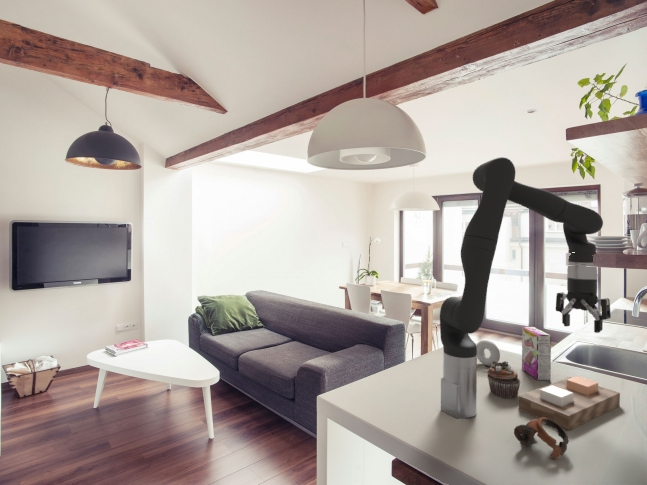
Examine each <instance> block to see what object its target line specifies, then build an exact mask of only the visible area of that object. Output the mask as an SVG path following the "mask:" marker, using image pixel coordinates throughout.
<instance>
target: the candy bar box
mask: <svg viewBox="0 0 647 485" xmlns="http://www.w3.org/2000/svg"><path fill="white" fill-rule="evenodd" d="M551 339H552V335H551V334H549V333H548V332H545V331H543V330H541V329H539V328H538V327H536V326H522V327H521V369H522V370H523V371H525V372H526V373H527V374H528V375H530V376H531V377H532V378H534V379H535V380H537V381H541V382H542V381H551V372H552V371H551V370H552V369H551V360H552V359H551V357H552V355H551V354H552V352H551V351H552V349H551V348H552V345H551V344H552V340H551Z"/></svg>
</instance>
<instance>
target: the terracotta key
mask: <svg viewBox="0 0 647 485" xmlns="http://www.w3.org/2000/svg"><path fill="white" fill-rule="evenodd" d="M598 386H599V382H597V381H593V380H591V379H588V378H584V377H581V376H578V375H576V376H574V377H573V376H572V378H570V379H568V380H567V384H566V388H567V389H570V390H573V391H576V392H579V393H582V394H585V395H588V396H589V395H591V394H594V393H596V392H598Z"/></svg>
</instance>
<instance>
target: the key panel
mask: <svg viewBox="0 0 647 485" xmlns="http://www.w3.org/2000/svg"><path fill="white" fill-rule="evenodd" d="M570 378H573V376H572V377H571V376H569V377H567V378H564V379H561V380H559V381H556V382H553V383H550V384H547V385H545V386H544V385H543V386H542V387H539V388H536V389H533V390H531V391H528V392H525V393H523V394H519V395H518V410H520V411H523V412H525V413H527V414H529V415H532V416H533V417H535V418H537V419H539V418H541V417H545V418H549V419H551V420H553V421H555V422H556V423H558V424H559V425H560V426H561V427H562V428H563V429H564V430H565V431H571V430H573V429H575V428H577V427H579V426H581V425H583V424H586V423H588V422H589V421H591V420H594V419H596V418H599V417H600V416H603V415H604V414H606V413H608V412H610V411H612V410H614V409H616V408H618V407H620V404H621V403H620V401H621V396H620V395H621V392H618V391H614V390H612V389H609V388H606V387H603V386H599V385H598V392H596V393H594V394H591V395H589V396H588V395H585V394H582V393H579V392H576V391H573V390H570V389H567V388H566V384H567V380H568V379H570ZM551 385H553V386H556V387H558V388H561V389H564V390H567V391H570V392H573V402H572V403H570V404H568V405H565V406H563V407H561V406H558V405H556V404H553V403H551V402H548V401H546V400H543V399H540V389H543V388H546V387H548V386H551Z"/></svg>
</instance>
